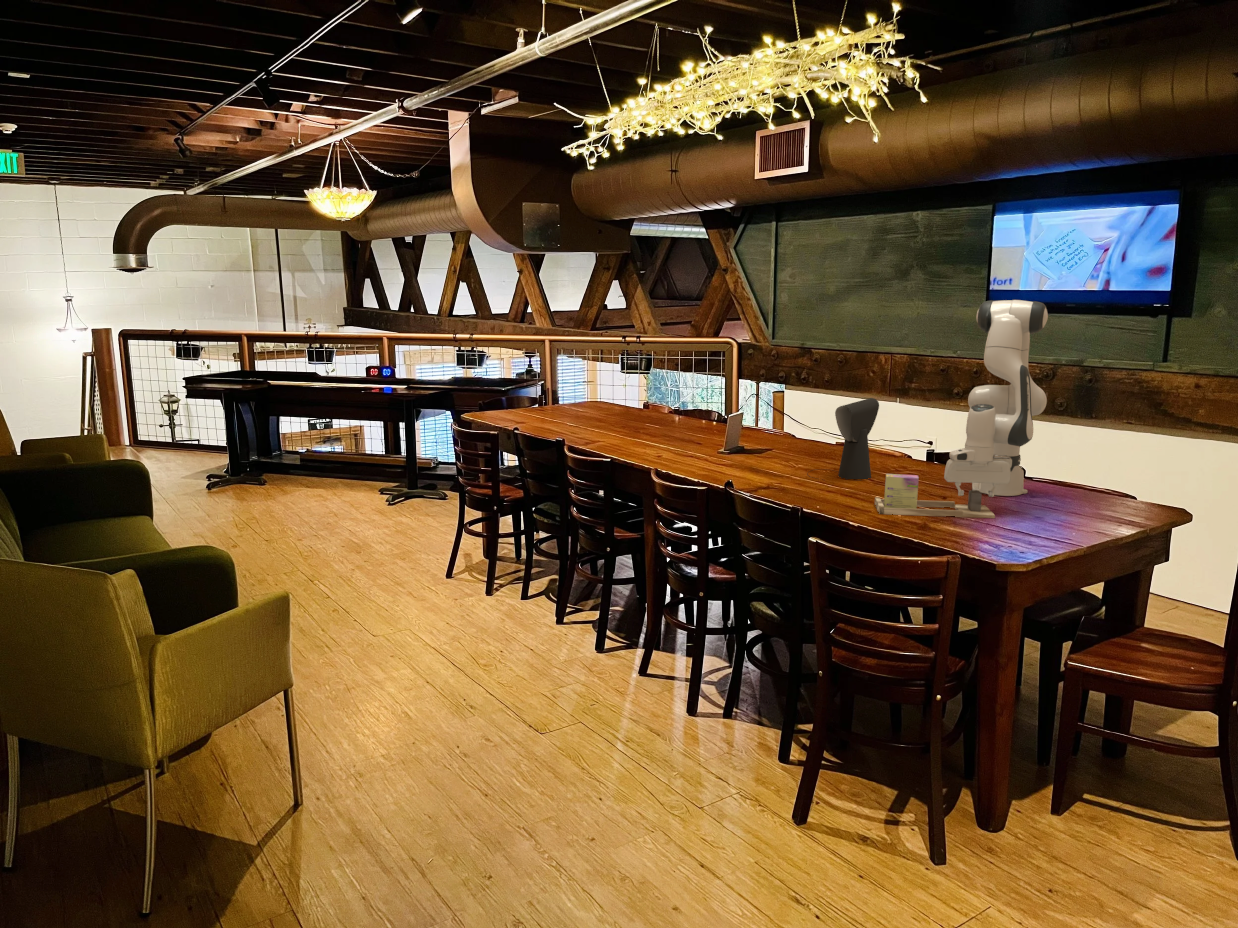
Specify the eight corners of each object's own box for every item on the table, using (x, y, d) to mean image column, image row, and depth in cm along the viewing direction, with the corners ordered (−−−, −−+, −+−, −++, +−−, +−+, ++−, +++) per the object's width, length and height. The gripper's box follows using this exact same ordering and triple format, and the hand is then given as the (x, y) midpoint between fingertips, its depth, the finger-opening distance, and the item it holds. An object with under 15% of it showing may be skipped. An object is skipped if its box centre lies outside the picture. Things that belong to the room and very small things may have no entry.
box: (915, 509, 298) (918, 474, 296) (916, 513, 293) (918, 478, 291) (883, 507, 301) (885, 473, 299) (883, 511, 296) (885, 476, 294)
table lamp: (886, 490, 326) (891, 409, 321) (809, 488, 331) (812, 408, 326) (874, 470, 365) (878, 397, 360) (805, 468, 370) (808, 396, 364)
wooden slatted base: (874, 504, 305) (875, 484, 304) (984, 508, 299) (986, 487, 298) (879, 514, 292) (880, 493, 290) (994, 518, 286) (996, 497, 284)
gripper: (1009, 453, 291) (1006, 495, 293) (944, 452, 294) (942, 493, 296) (1015, 456, 284) (1011, 499, 287) (948, 455, 288) (945, 496, 290)
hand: (975, 496), depth 291 cm, fingers open, 8 cm apart
